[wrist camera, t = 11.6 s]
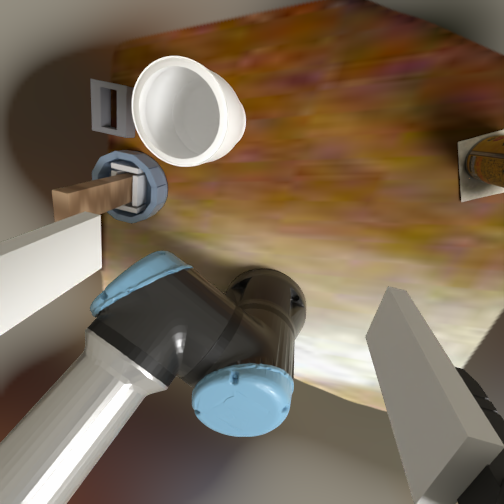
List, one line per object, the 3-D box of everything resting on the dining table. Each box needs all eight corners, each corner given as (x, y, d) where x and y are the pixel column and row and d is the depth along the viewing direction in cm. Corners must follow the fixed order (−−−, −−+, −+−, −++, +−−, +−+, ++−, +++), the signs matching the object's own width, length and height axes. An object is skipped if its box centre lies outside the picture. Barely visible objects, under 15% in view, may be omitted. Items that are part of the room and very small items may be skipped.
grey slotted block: (134, 137, 46) (125, 137, 44) (102, 130, 47) (92, 130, 45) (135, 88, 44) (126, 85, 41) (101, 81, 44) (90, 78, 42)
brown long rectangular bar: (139, 198, 49) (70, 226, 35) (128, 195, 49) (55, 222, 35) (140, 174, 48) (67, 193, 33) (129, 172, 48) (51, 189, 33)
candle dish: (165, 222, 51) (155, 229, 48) (108, 208, 52) (93, 213, 49) (170, 158, 47) (159, 160, 43) (107, 144, 48) (90, 145, 44)
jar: (174, 131, 45) (117, 131, 31) (204, 64, 41) (153, 30, 27) (231, 170, 46) (200, 186, 32) (266, 107, 42) (247, 96, 28)
